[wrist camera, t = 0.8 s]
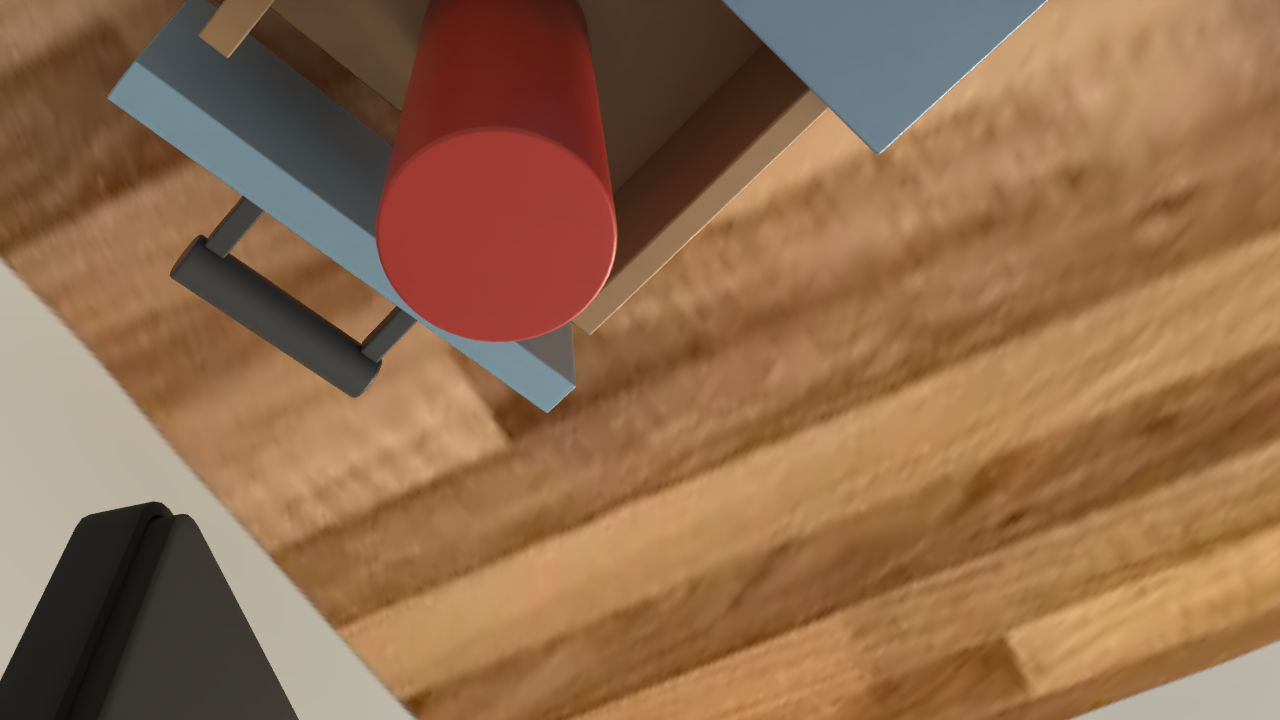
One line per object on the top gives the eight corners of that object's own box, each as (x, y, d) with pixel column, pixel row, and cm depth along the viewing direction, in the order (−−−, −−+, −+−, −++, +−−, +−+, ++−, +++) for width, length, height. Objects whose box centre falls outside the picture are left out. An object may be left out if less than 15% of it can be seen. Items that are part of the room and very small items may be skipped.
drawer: (459, 392, 39) (449, 505, 34) (85, 133, 33) (10, 223, 28) (923, -63, 32) (994, -4, 27) (555, -484, 27) (563, -504, 22)
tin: (388, 44, 32) (325, 250, 21) (496, -82, 30) (482, 75, 20) (514, 149, 33) (510, 383, 23) (622, 35, 32) (667, 232, 22)
